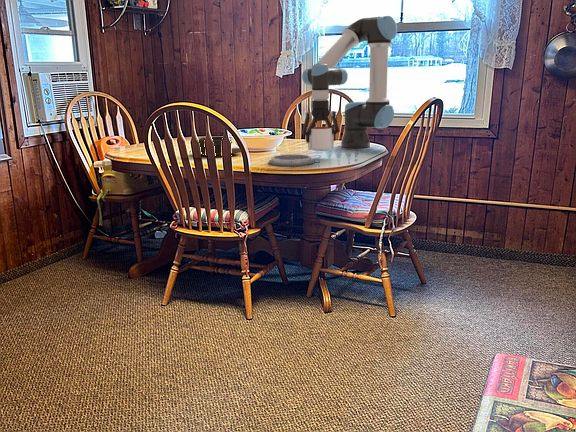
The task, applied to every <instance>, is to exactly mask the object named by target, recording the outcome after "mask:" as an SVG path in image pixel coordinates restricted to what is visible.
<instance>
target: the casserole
mask: <svg viewBox="0 0 576 432" xmlns="http://www.w3.org/2000/svg"><path fill="white" fill-rule="evenodd" d="M205 137H206V136H204V137H200V138H199V139H198V141H199V143H200V147H201V152H202V154H204V155H205V147H204V140H205ZM211 137H212V139H213V142H214V146H215V153H216V156H220V157H222V156H221V141H222V138H223V137H224V136H211ZM230 141H231V144H233V141H232V139H231V138H230ZM231 149H232V155H233V154H239V153H241V151H239V150H240V149H239V148H238V149H236V148H231ZM191 151H192V150H190V151H189V153H190V152H191ZM202 154H201V155H202Z"/></svg>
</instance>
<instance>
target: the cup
mask: <svg viewBox="0 0 576 432" xmlns="http://www.w3.org/2000/svg"><path fill="white" fill-rule="evenodd" d="M310 136H311V151H316V152H323V151H324V152H326V151H330V150H331V149H332V128H329V127H328V126H314V127H313V129H311V133H310Z"/></svg>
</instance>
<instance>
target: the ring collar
mask: <svg viewBox="0 0 576 432" xmlns="http://www.w3.org/2000/svg"><path fill="white" fill-rule="evenodd" d="M313 163H314V164H315V160H314V159H313V158H312V156H311V155H308V154H301V153H300V154H296V153H294V154H293V153H291V154H289V153H287V154H279V155H273V156H272V157H271V158H270V159H269V160H268V164H269V165H271V166H275V167H282V168H283V167H284V168H285V167H286V168H287V167H289V168H290V167H293V168H294V166H296V167H306V166H305V165H307V166H311V165H313Z"/></svg>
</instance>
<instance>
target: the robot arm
mask: <svg viewBox="0 0 576 432" xmlns="http://www.w3.org/2000/svg"><path fill="white" fill-rule="evenodd" d="M341 33H342V34H341V37H339V39H337V41H335V43H333V45H332V46H331V47H330V48H329V49H328V50H327V52H326V53H325V54H324V55H323V56H321V57H320V59H319V60H318V61H317V62H316V63H315V64H313V65H311V68H310V67H309V68H306V69H304V71H303V72H302V75H301V78H302V81H303V83H304V84H305V85H307V86H308V85H310V86H311V99H312V101H311V107H312V108H311V109H312V110H311V112H308V111H306V112H305V118H304V121H303V127H302V131H301V134H302V135H305V142H306V143H307V147H308V148H307V150H309V151H312V149H311V136H310V133H311V129H313V127H315V125H316V123H317V122H323V121H324V122H325V124H326V125H327V127H329V128H332V148H331V149H332V150H333V149H335V148H334V146H335V142H336V141H337V140H336V135H337V134H338V133H340V128H339V124H338V121H337V120H338V119H337V118H336V113H337V111H334V110H332V111H331V110H330V104H329V103H330V100H328V99H329V97H330V92H329V89H330V86H341V85H344V84H346V83H347V81H348V77H349V76H348V72H347V70H346V69H344V68H341V67H336V66H337V65H338V64H339V63H340V61H341V60H342V59H343V58H344V57H345V56H346V55H347V54H348V53H349V51H350V50H351V49H353V48H354V47H358V45H359V44H361V43H362V42H366V41H367V45H368V47H369V48H370V52H369V55H370V57H369V87H368V88H369V90H368V91H369V92H368V93H369V94H368V96H369V97H368V99H367V100H363V101H355V102H348V103H346V104H345V105H344V133H343V136H342V139H341V142H340V143H341V145H340V146H341V147H342V148H345V149H346V148H347V149H364V148H370V147H371V142H370V138H369V133H368V132H367V131H368V128H370V129H371V128H373V129H374V128H375V129H386V128H388V127H389V126H390V125H391V124H392V122H393V120H394V116H395V109H394V108H393V106H392V105H391V104H390V100H389V99H388V98H387V92H388V64H389V63H388V62H389V61H388V59H389V47H390V46H391V45H392V40H394V39H395V38H396V36H397V33H398V25H397V22H396V20H395V19H394V17H393V16H392V15H391V14H382V13H381V14H374V15H363V16H362V17H361V16H360V17H359V18H357V19H356V20H354V21H353V22H352V23H350V24H349V25H348V26H347V27H346V28H344V30H343V31H342V32H341ZM329 115H330V116H331V121H332V123H331V121H330V119H329ZM311 117H313V118H312V121H311V122H310V118H311ZM309 123H310V124H309ZM332 124H333V125H332Z"/></svg>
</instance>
